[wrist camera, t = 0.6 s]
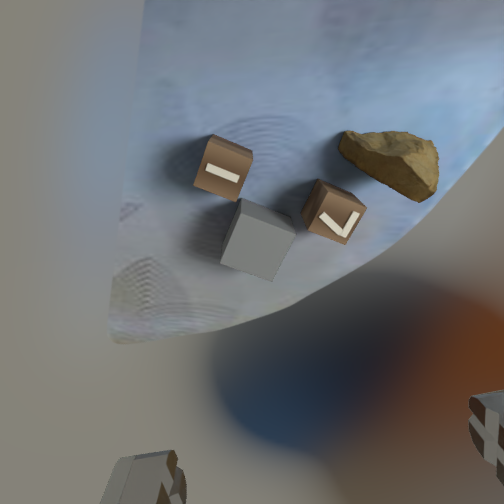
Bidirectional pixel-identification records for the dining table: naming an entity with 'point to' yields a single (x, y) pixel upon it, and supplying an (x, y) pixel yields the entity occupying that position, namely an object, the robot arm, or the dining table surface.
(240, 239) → the grey block
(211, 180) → the walnut block one
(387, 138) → the rock
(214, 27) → the dining table surface
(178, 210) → the dining table surface
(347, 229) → the walnut block seven
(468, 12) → the dining table surface
